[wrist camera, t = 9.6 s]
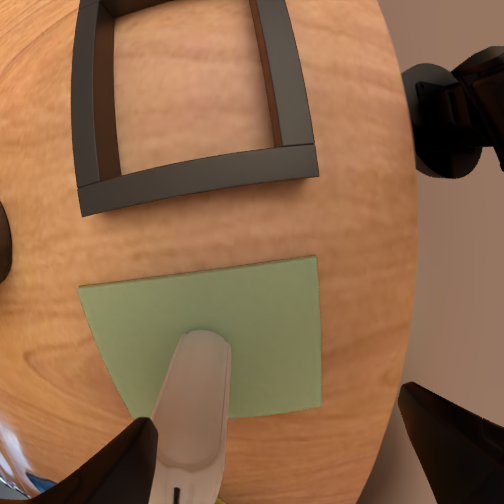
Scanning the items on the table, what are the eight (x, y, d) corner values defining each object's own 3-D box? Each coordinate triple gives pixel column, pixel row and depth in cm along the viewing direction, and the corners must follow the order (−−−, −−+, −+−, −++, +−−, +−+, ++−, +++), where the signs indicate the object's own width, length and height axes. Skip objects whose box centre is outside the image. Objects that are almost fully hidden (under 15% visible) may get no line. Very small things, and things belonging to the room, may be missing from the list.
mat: (314, 254, 19) (316, 257, 18) (320, 402, 22) (321, 406, 22) (79, 285, 19) (76, 288, 18) (134, 414, 22) (132, 418, 22)
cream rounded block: (217, 423, 22) (208, 541, 10) (171, 413, 22) (142, 528, 10) (238, 333, 19) (233, 490, 7) (179, 321, 19) (121, 466, 7)
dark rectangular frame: (266, -26, 13) (269, -50, 10) (306, 177, 17) (319, 176, 14) (97, 12, 13) (80, -5, 10) (104, 211, 18) (81, 217, 14)
